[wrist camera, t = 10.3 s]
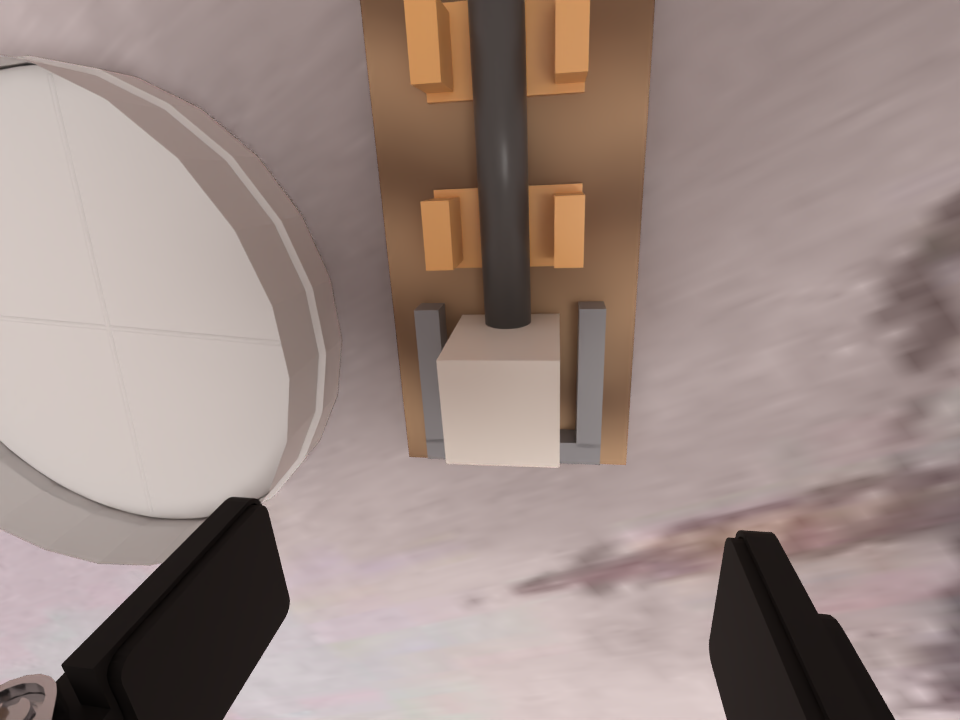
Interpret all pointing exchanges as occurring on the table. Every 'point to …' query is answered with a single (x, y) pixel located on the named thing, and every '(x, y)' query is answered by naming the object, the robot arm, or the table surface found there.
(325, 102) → the table surface
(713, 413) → the table surface
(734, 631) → the robot arm
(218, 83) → the table surface
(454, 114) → the board
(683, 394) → the table surface
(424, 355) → the end holder
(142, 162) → the dish
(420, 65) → the clip
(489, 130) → the connector
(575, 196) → the clip
